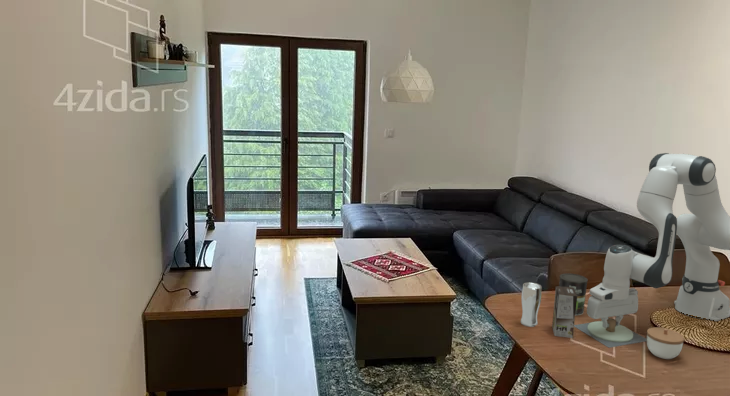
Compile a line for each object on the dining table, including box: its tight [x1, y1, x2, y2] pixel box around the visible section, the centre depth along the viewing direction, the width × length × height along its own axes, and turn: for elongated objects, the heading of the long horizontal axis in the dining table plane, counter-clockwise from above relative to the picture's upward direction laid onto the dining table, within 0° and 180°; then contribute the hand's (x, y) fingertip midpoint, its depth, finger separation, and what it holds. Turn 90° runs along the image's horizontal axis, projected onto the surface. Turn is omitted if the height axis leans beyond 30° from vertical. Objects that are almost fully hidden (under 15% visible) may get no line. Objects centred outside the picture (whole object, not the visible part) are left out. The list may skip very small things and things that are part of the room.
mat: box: [574, 322, 647, 349], centre depth 191 cm, size 18×18×1 cm
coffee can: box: [558, 273, 589, 316], centre depth 209 cm, size 10×10×14 cm
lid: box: [588, 317, 634, 342], centre depth 191 cm, size 15×15×5 cm
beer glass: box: [520, 282, 543, 328], centre depth 197 cm, size 7×7×15 cm
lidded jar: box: [646, 326, 685, 360], centre depth 175 cm, size 11×11×9 cm
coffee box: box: [551, 285, 578, 339], centre depth 190 cm, size 9×6×16 cm
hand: (610, 326), depth 191 cm, fingers open, 3 cm apart
